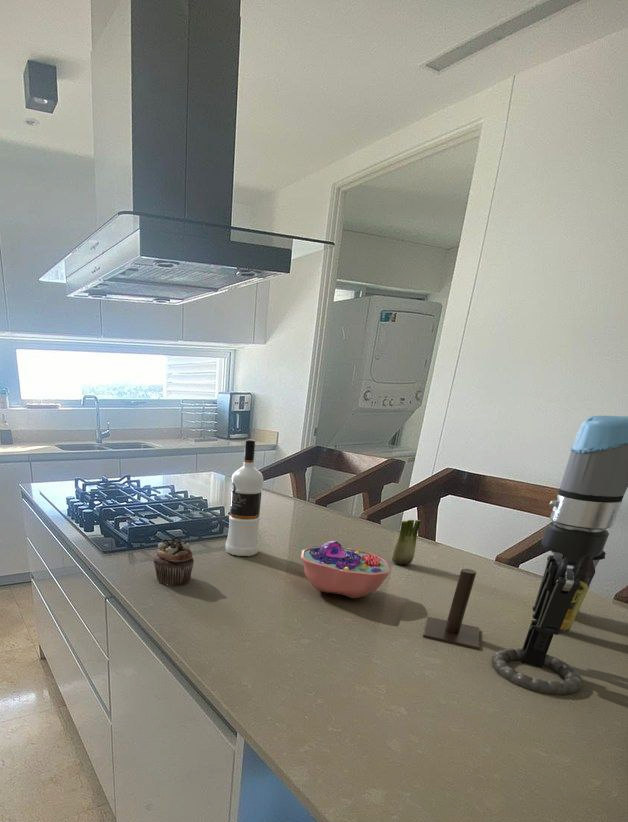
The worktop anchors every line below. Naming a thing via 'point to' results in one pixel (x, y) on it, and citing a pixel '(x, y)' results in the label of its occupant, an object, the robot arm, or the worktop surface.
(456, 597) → the post stand
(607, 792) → the worktop surface
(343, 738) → the worktop surface
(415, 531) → the fennel bulb
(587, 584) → the sauce bottle
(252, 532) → the vodka
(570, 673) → the ring
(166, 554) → the cupcake
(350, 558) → the cell model
